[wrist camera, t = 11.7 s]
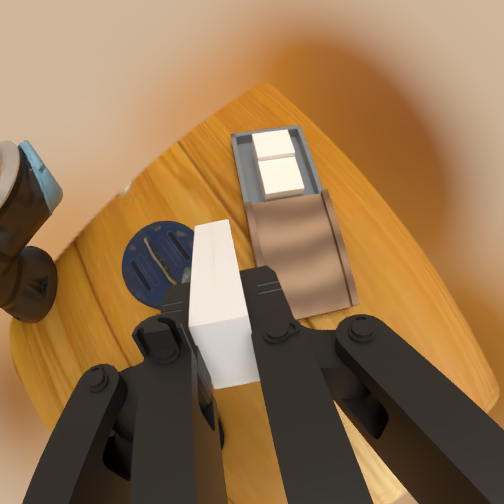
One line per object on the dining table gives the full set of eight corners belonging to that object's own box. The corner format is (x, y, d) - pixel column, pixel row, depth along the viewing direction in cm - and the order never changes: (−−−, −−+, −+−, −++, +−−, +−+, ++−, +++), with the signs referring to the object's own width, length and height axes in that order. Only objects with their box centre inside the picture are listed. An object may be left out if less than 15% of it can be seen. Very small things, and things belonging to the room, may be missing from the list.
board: (348, 307, 43) (359, 303, 38) (267, 326, 42) (268, 324, 38) (321, 203, 48) (327, 189, 43) (245, 216, 48) (244, 202, 43)
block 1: (295, 152, 43) (287, 129, 45) (257, 157, 43) (251, 134, 45) (291, 172, 49) (284, 150, 51) (257, 177, 49) (252, 154, 50)
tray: (320, 201, 48) (324, 193, 45) (245, 214, 48) (244, 206, 45) (298, 135, 52) (300, 125, 50) (231, 144, 52) (230, 134, 49)
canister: (210, 250, 46) (185, 197, 29) (234, 304, 43) (219, 281, 26) (157, 273, 45) (104, 235, 28) (177, 328, 42) (128, 320, 25)
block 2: (300, 202, 47) (304, 188, 43) (265, 208, 47) (265, 194, 42) (291, 172, 49) (294, 156, 44) (258, 178, 49) (258, 161, 44)
